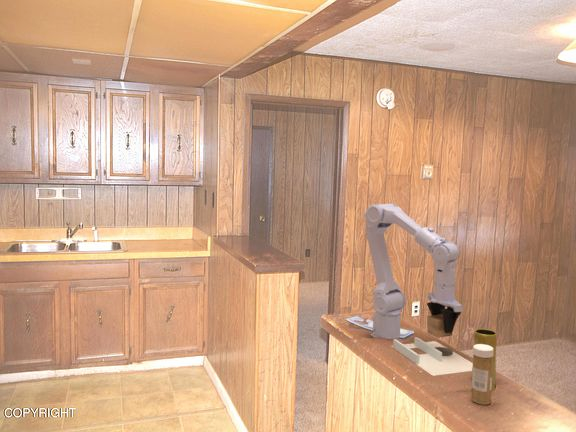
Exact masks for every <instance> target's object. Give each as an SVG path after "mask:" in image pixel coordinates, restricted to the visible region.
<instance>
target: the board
mask: <svg viewBox="0 0 576 432" xmlns="http://www.w3.org/2000/svg"><path fill="white" fill-rule="evenodd" d="M425 342H426V343H427V344H429V345H431V346H432V347H434V348H435V347H444V348H447V347H446V346H444V345H443V344H441V343H439V342H438V341H436V340H435V341H433V340H432V341H425ZM404 345H405V346H407V347H408V348H410V349H419V348H418V347H416V346H415V345H414V342H412V343H405V344H404ZM391 348H393V345H391ZM393 349H394V350H396V349H395V348H393ZM400 354H401V355H403V354H402V353H400ZM418 355H419V364H416V363H414V364H416V366H417V367H419V368H420V369H422V370H424V371H426V373H428V374H429V375H431V376H435V377H436V376H443V375H444V376H445V375H451V374H457V373H467V372H472V366H473V362H471V361H470V360H468V359H467V358H464V357H463V356H461V355H460V354H459V353H456V352H455V351H453V354H452V355H451V356H442V361H440V362H439V361H438V360H436V359H435V358H433V357H432V356H430V355H429V354H427V353H422V354H418ZM407 359H408V360H410V359H409V358H407Z"/></svg>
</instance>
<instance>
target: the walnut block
mask: <svg viewBox="0 0 576 432" xmlns="http://www.w3.org/2000/svg"><path fill="white" fill-rule="evenodd" d="M426 322H427V334H429V335H431V336H433V337H435V338H437V339H439V338H446V337H451V336H453V332H452V333H445V330H444V319H443V315H442V314H438V315H428V316H427V318H426Z"/></svg>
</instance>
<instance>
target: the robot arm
mask: <svg viewBox="0 0 576 432" xmlns="http://www.w3.org/2000/svg"><path fill="white" fill-rule="evenodd" d="M364 218H365V222H366V223H365V224H366V225H365V235H366V239H367V242H368V247H369V248H368V249H369V252H370V257H371V262H372V266H373V270H374V271H373V272H374V275H375V278H376V279H375V280H376V286H375V288H374V290H373V291H372V294H373V295H372V296H373V299H372V302H373V303H372V304H373V309H374V310H375V312H374V314H373V319H372V332H371V333H370V336H371V337H372V338H375V339H376V338H381V339H387V340H393V339H396V340H398V339H399V338H400V337H401V317H402V316H401V313H402V310H403V309H404V307H405V306H406V302H407V299H406V296H405V294H404V292H403V291H402V289H401V286H400V284H398V283H397V282H396V281H395V278H394V273H393V270H392V264H391V260H390V257H389V251H388V247H387V243H386V239H385V233H386V231H387V230H388V228H389V227H391V226H392V225H393V224H395V225H396V226H398V227H399V228H401V229H403V230H404V231H406V232H407V233H409V234H410V235H411V236H413V237H414V241H415V243H416V244H417V245H418V246H419V247H421V248H423V249H424V250H425V251H426V252H427V253H429V254H430V255H431V259H432V260H433V263H434V266H433V267H434V283H433V284H434V285H433V288H434V289H433V292H428V293H427V300H428V301H430V302H427V303H426V306H427V307H428V310H429V311H430V316H432V315H438V314H442V315H443V319H444V330H445V333H452V334H453V331H454V327H455V325H456V322H457V319H458V318H459V317H460V315H461V314H462V312H463V304H460V302H458V301H457V300H456V299H455V295H456V294H455V293H456V292H455V291H456V271H457V270H456V269H457V264H456V263H457V260H458V259H459V258H460V255H461V250H460V247H459V246H458V244H456V242H454V241H447V239H446V238H445V237H442V236H441V235H439V234H438V233H437V232H435V229H434V228H433V227H428V226H426V227H422V226H420V225H419V224H418V223H417V222H415V221H414V219H412V218H411V217H410V216H409V215H408V214H406V213H405V212H404V211H403V210H402V207H399V206H397V204H395V203H392V202H391V203H383V204H382V203H381V204H373V203H372V204H371V205H369V206H368V208H367V209H366V211H365V213H364Z"/></svg>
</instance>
